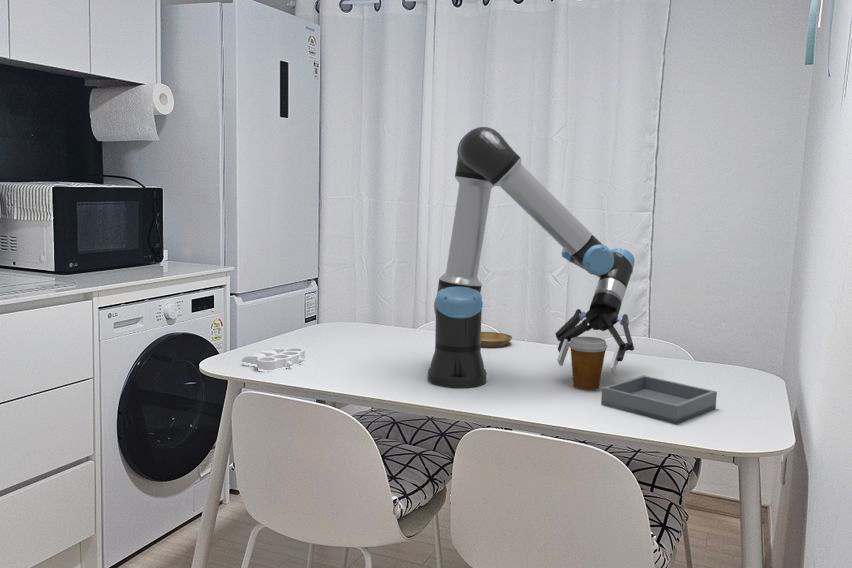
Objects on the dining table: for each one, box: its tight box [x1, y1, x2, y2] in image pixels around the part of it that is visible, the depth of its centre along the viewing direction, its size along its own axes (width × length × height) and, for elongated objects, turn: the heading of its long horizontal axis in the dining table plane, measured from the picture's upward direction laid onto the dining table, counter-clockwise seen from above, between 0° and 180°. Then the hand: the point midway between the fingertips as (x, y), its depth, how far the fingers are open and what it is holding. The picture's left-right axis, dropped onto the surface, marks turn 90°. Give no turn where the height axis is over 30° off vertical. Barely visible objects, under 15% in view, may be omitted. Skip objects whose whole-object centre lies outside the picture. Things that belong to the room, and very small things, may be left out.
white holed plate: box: [241, 347, 306, 370], centre depth 211 cm, size 3×18×15 cm
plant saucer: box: [481, 331, 513, 348], centre depth 243 cm, size 15×15×3 cm
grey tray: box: [600, 375, 718, 425], centre depth 178 cm, size 19×18×4 cm
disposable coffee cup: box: [569, 336, 608, 391], centre depth 194 cm, size 10×10×12 cm
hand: (585, 366), depth 192 cm, fingers open, 13 cm apart
